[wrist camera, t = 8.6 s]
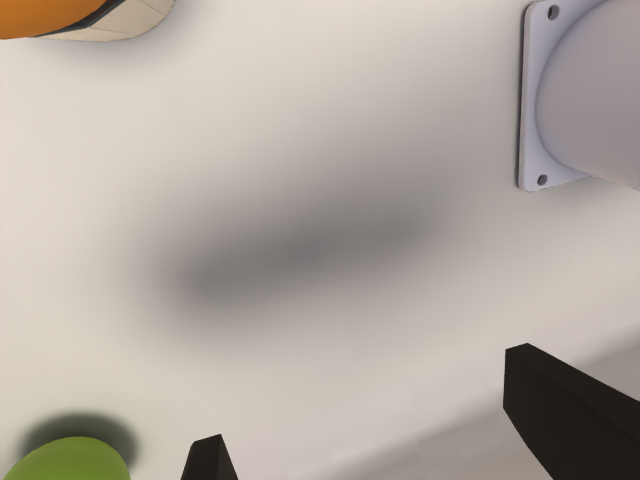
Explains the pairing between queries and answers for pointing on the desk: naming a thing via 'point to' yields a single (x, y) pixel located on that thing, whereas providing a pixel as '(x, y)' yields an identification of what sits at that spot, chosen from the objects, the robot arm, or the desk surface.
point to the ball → (41, 15)
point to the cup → (115, 21)
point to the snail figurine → (71, 462)
